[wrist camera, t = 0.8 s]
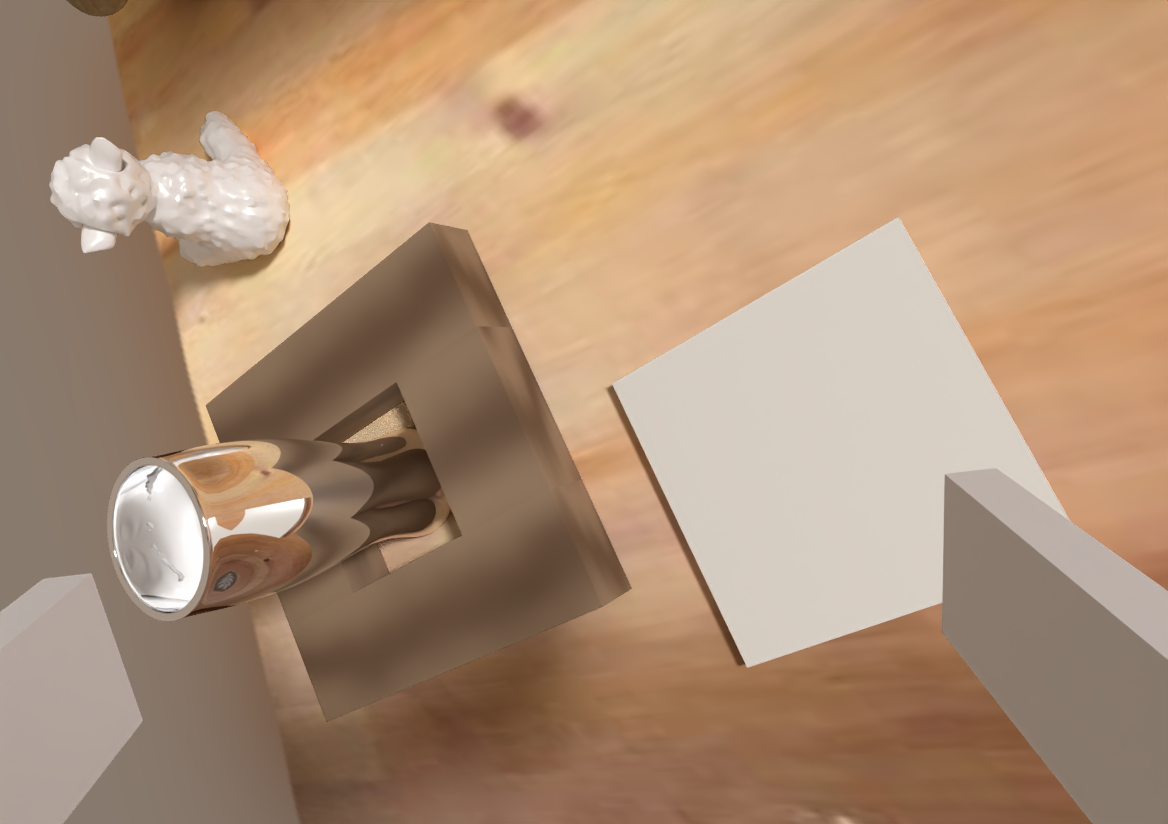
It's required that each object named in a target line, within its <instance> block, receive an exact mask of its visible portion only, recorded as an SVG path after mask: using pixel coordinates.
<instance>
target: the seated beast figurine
mask: <svg viewBox="0 0 1168 824" xmlns="http://www.w3.org/2000/svg"><path fill="white" fill-rule="evenodd" d="M205 120H206V123H205V124H204V125H201V129H200V135H201V136H200V137H199V142H200V143H201V145H202V147H203V148H204V149H205V153H206V155H208V156H210V157H211V159H212V161H206V160H204V159H202V158H198V157H197V156H196V155H194V154H190V155H184V154H177V153H174V152H170V151H167V152H162V153H161V154H160V155H155V154H152V155H150V156H149V157H148V158H147V159H145V160H140V161H138V160H137V159H136V158H135V157H134V156H132V155H131V154H130V153H128V152H127V151H125V150H123V149H119V148H118V147H116V146H115V145H114V144H113V143H111V142H110V141H108V140H106V139H105V138H100V137H96V138H95V139H94V140H93V141H92V143H91V145H88V144H84V145H82V146H81V147H77V148H75V149H73V150H71V151H70V153H69V156H68V157H64V158H63V160H57V162H56V163H55V165H54V168H53V171H52V172H51V181H50V182H49V187H50V189H51V191H52V195H51V197H50V201H51V203H52V204H54V205H55V206H56V207H57V208H58V210H59V212H60V214H61V215H62V216H63V217H64V218H66V219H67V220H69V221H70V223H71V224H72V225H73V226H74V227H75V228H77V229H82V233H81V246H82V251H83V252H84V253H89V252H95V251H100V250H108V249H112V248H113V247H114V246H115V244H116V238H117V234H122V235H125V236H129V235H130V233H131V232H132V231H133V230H134V228H135V227H136V225H137V224H138V223H140V222H146V223H147V224H149V226H150V227H151V229H154V230H158V231H161V232H162V233H164V234H165V235H166V236H167V237H173V238H175V239H179V241H178V245H179V248H180V251H179V253H180V255H181V256H182V257H183V258H184V259H185V260H187V261H189V262H192V263H196V264H197V266H198V267H204V266H206V265H210V266H217V265H221V264H223V263H226V264H228V263H229V262H237V261H240V260H242V259H243V260H247V259H249V260H254V259H255V258H256V257H258V256H260V255H268V254H271V253H272V252H273V251H274V249H275V248H276V247H277V246H278V244H279V243H280V242H281V241H282V240H283V238H284V235H285V231H286V228H287V224H288V222H289V220H290V215H289V208H290V205H289V203H288V195H287V189H286V188H285V187H284V186H283V185H282V184H281V180H280V179H278V178H277V177H276V176H275V175H274V171H273V169H272V168H270V167H269V166H268V163H267V162H265V161H263V160H262V158H261V157H260V156H259V154H258V152H257V150H256V148H255V145H254V144H253V143H251V142H250V141H249V140H248V137H247V136H245V135H244V134H243V133H242V132H241V131H240V130H239V128H238V127H237V126H236V124H235V123H234V122H233V121H232V120H231V119H230V118H228V117H227V116H226V115H225V114H223V113H221V112H218V111H212V112H209V113H208V114H207V115H206V117H205Z"/></svg>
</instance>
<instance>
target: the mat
mask: <svg viewBox="0 0 1168 824" xmlns="http://www.w3.org/2000/svg"><path fill="white" fill-rule="evenodd" d="M612 385H613V387H614V389H615V391H616V393H617V395H618V398H619V400H620V402H621V404H622V406H623V408H624V410H625V412H626V414H627V416H628V419H629V421H630V423H631V425H632V427H633V429H634V431H635V433H636V435H637V437H638V439H639V442H640V444H641V446H642V448H643V450H644V452H645V454H646V456H647V458H648V460H649V463H650V465H651V467H652V469H653V471H654V473H655V475H656V477H657V479H658V481H659V484H660V486H661V488H662V490H663V492H664V494H665V496H666V498H667V500H668V502H669V505H670V507H671V509H672V511H673V513H674V515H675V517H676V519H677V521H678V523H679V526H680V528H681V530H682V532H683V534H684V536H685V538H686V540H687V542H688V544H689V547H690V549H691V551H692V553H693V555H694V557H695V559H696V561H697V563H698V565H699V568H700V570H701V572H702V574H703V576H704V578H705V580H706V582H707V584H708V586H709V589H710V591H711V593H712V595H713V597H714V599H715V601H716V603H717V605H718V607H719V610H720V612H721V614H722V616H723V618H724V620H725V622H726V624H727V626H728V628H729V631H730V633H731V635H732V637H733V639H734V641H735V643H736V645H737V647H738V649H739V652H740V654H741V656H742V658H743V660H744V662H745V664H746V666H747V668H748V667H751V666H754V665H757V664H760V663H763V662H766V661H769V660H772V659H775V658H778V657H781V656H784V655H787V654H790V653H793V652H796V651H799V650H802V649H805V648H808V647H811V646H814V645H817V644H820V643H823V642H826V641H829V640H831V639H834V638H837V637H840V636H843V635H846V634H849V633H852V632H855V631H858V630H861V629H864V628H867V627H870V626H873V625H876V624H879V623H882V622H885V621H888V620H891V619H894V618H897V617H900V616H903V615H906V614H909V613H912V612H915V611H918V610H921V609H924V608H927V607H930V606H933V605H936V604H939V603H942V595H943V539H944V482H945V474H949V473H957V472H966V471H975V470H983V469H992V468H997V469H998V470H999V471H1001V472H1002V473H1004V474H1005V475H1006V476H1008V477H1009V478H1011V479H1012V480H1013V481H1015V482H1016V483H1018V484H1019V485H1020V486H1022V487H1023V488H1025V489H1026V490H1027V491H1029V492H1030V493H1032V494H1033V495H1034V496H1036V497H1037V498H1038V499H1040V500H1041V501H1043V502H1044V503H1045V504H1047V505H1048V506H1050V507H1051V508H1052V509H1054V510H1055V511H1057V512H1058V513H1059V514H1061V515H1062V516H1064V517H1065V518H1066V519H1068V520H1069V518H1068V516H1067V514H1066V512H1065V511H1064V509H1063V507H1062V505H1061V504H1060V502H1059V500H1058V498H1057V496H1056V495H1055V493H1054V491H1053V489H1052V488H1051V486H1050V484H1049V482H1048V480H1047V479H1046V477H1045V475H1044V473H1043V472H1042V470H1041V468H1040V466H1039V464H1038V463H1037V461H1036V459H1035V457H1034V456H1033V454H1032V452H1031V450H1030V449H1029V447H1028V445H1027V443H1026V441H1025V440H1024V438H1023V436H1022V434H1021V433H1020V431H1019V429H1018V427H1017V425H1016V424H1015V422H1014V420H1013V418H1012V417H1011V415H1010V413H1009V411H1008V409H1007V408H1006V406H1005V404H1004V402H1003V401H1002V399H1001V397H1000V395H999V393H998V392H997V390H996V388H995V386H994V385H993V383H992V381H991V379H990V377H989V376H988V374H987V372H986V370H985V369H984V367H983V365H982V363H981V361H980V360H979V358H978V356H977V354H976V353H975V351H974V349H973V347H972V345H971V344H970V342H969V340H968V338H967V337H966V335H965V333H964V331H963V330H962V328H961V326H960V324H959V322H958V321H957V319H956V317H955V315H954V314H953V312H952V310H951V308H950V306H949V305H948V303H947V301H946V299H945V298H944V296H943V294H942V292H941V290H940V289H939V287H938V285H937V283H936V282H935V280H934V278H933V276H932V274H931V273H930V271H929V269H928V267H927V266H926V264H925V262H924V260H923V258H922V257H921V255H920V253H919V251H918V250H917V248H916V246H915V244H914V242H913V241H912V239H911V237H910V235H909V234H908V232H907V230H906V228H905V227H904V225H903V223H902V221H901V219H900V218H899V217H897V218H895V219H894V220H892V221H890V222H889V223H887V224H885V225H883V226H882V227H880V228H878V229H877V230H875V231H873V232H871V233H870V234H868V235H866V236H865V237H863V238H861V239H859V240H858V241H856V242H854V243H853V244H851V245H849V246H847V247H846V248H844V249H842V250H841V251H839V252H837V253H835V254H834V255H832V256H830V257H829V258H827V259H825V260H823V261H822V262H820V263H818V264H817V265H815V266H813V267H811V268H810V269H808V270H806V271H805V272H803V273H801V274H799V275H798V276H796V277H794V278H793V279H791V280H789V281H787V282H786V283H784V284H782V285H781V286H779V287H777V288H775V289H774V290H772V291H770V292H769V293H767V294H765V295H763V296H762V297H760V298H758V299H757V300H755V301H753V302H751V303H750V304H748V305H746V306H745V307H743V308H741V309H739V310H738V311H736V312H734V313H733V314H731V315H729V316H727V317H726V318H724V319H722V320H721V321H719V322H717V323H715V324H714V325H712V326H710V327H709V328H707V329H705V330H703V331H702V332H700V333H698V334H697V335H695V336H693V337H691V338H690V339H688V340H686V341H685V342H683V343H681V344H679V345H678V346H676V347H674V348H673V349H671V350H669V351H667V352H666V353H664V354H662V355H661V356H659V357H657V358H655V359H654V360H652V361H650V362H649V363H647V364H645V365H643V366H642V367H640V368H638V369H637V370H635V371H633V372H631V373H630V374H628V375H626V376H625V377H623V378H621V379H619V380H618V381H616V382H614V383H613V384H612ZM1069 521H1070V520H1069Z"/></svg>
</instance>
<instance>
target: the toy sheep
mask: <svg viewBox="0 0 1168 824" xmlns="http://www.w3.org/2000/svg"><path fill="white" fill-rule="evenodd" d="M67 1H68V2H69V3H70V4H72V5H73V6H74V7H76V8H77V9H79V10H80V11H82V12H84V13H86V14H89V15H92V16H108V15H112V14H114V13H116V12H117V11H119V10H120V9H122V8H123V6H124V5H125V4H126V2H127V0H67Z"/></svg>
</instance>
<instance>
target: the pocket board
mask: <svg viewBox="0 0 1168 824" xmlns="http://www.w3.org/2000/svg"><path fill="white" fill-rule="evenodd" d="M403 401H405V403H406V405H407V408H408V410H409V412H410V415H411V417H412V419H413V422H414V424H415V426H416V429H417V431H418V433H419V436H420V438H421V440H422V443H423V445H424V447H425V450H426V452H427V454H428V457H429V459H430V461H431V464H432V466H433V468H434V471H435V473H436V475H437V478H438V480H439V482H440V485H441V487H442V489H443V492H444V494H445V496H446V499H447V501H448V504H449V506H450V508H451V511H452V513H453V515H454V518H455V520H456V522H457V525H458V527H459V529H460V532H461V534H462V536H460V537H458V538H456V539H454V540H453V541H451V542H449V543H447V544H445V545H443V546H441V547H439V548H437V549H436V550H434V551H432V552H430V553H428V554H426V555H424V556H422V557H420V558H419V559H417V560H415V561H413V562H411V563H409V564H407V565H405V566H403V567H402V568H400V569H398V570H396V571H394V572H392V573H389V571H388V568H387V566H386V563H385V561H384V559H383V556H382V554H381V551H380V549H379V546H378V544H377V543H375V544H372V545H370V546H368V547H366V548H364V549H362V550H361V551H359V552H357V553H355V554H353V555H352V556H350V557H348V558H347V559H345V560H343V561H341V562H340V563H338V564H336V565H334V566H333V567H331V568H329V569H327V570H325V571H324V572H322V573H320V574H318V575H316V576H314V577H312V578H310V579H308V580H306V581H304V582H302V583H300V584H298V585H296V586H294V587H291V588H288V589H286V590H283V591H280V592H278V596H279V599H280V601H281V604H282V607H283V609H284V612H285V614H286V617H287V620H288V622H289V625H290V627H291V630H292V633H293V635H294V638H295V641H296V643H297V646H298V648H299V651H300V654H301V656H302V659H303V661H304V664H305V667H306V669H307V672H308V675H309V677H310V680H311V682H312V685H313V688H314V690H315V693H316V695H317V698H318V701H319V703H320V706H321V709H322V711H323V714H324V716H325V719H326V722H328V721H330V720H332V719H335V718H337V717H340V716H342V715H344V714H347V713H349V712H352V711H354V710H356V709H359V708H361V707H364V706H366V705H368V704H371V703H373V702H376V701H378V700H380V699H383V698H385V697H388V696H390V695H392V694H395V693H397V692H400V691H402V690H404V689H407V688H409V687H411V686H414V685H416V684H419V683H421V682H423V681H426V680H428V679H431V678H433V677H435V676H438V675H440V674H443V673H445V672H447V671H450V670H452V669H455V668H457V667H459V666H462V665H464V664H467V663H469V662H471V661H474V660H476V659H479V658H481V657H483V656H486V655H488V654H491V653H493V652H495V651H498V650H500V649H502V648H505V647H507V646H510V645H512V644H514V643H517V642H519V641H522V640H524V639H526V638H529V637H531V636H534V635H536V634H538V633H541V632H543V631H546V630H548V629H550V628H553V627H555V626H558V625H560V624H562V623H565V622H567V621H570V620H572V619H574V618H577V617H579V616H582V615H584V614H586V613H589V612H591V611H593V610H596V609H598V608H601V607H603V606H605V605H606V604H608V603H609V602H611V601H613V600H614V599H616V598H617V597H619V596H621V595H622V594H624V593H625V592H627V591H629V590H630V589H632V588H631V586H630V584H629V581H628V579H627V577H626V575H625V573H624V571H623V568H622V566H621V564H620V562H619V560H618V558H617V555H616V553H615V551H614V549H613V547H612V545H611V542H610V540H609V538H608V536H607V534H606V531H605V529H604V527H603V525H602V523H601V521H600V518H599V516H598V514H597V512H596V510H595V508H594V505H593V503H592V501H591V499H590V497H589V494H588V492H587V490H586V488H585V486H584V484H583V481H582V479H581V477H580V475H579V473H578V471H577V468H576V466H575V464H574V462H573V460H572V457H571V455H570V453H569V451H568V449H567V447H566V444H565V442H564V440H563V438H562V436H561V434H560V431H559V429H558V427H557V425H556V423H555V420H554V418H553V416H552V414H551V412H550V410H549V407H548V405H547V403H546V401H545V399H544V397H543V394H542V392H541V390H540V388H539V386H538V383H537V381H536V379H535V377H534V375H533V373H532V370H531V368H530V366H529V364H528V362H527V360H526V357H525V355H524V353H523V351H522V349H521V346H520V344H519V342H518V340H517V338H516V336H515V333H514V331H513V329H512V327H511V325H510V323H509V320H508V318H507V316H506V314H505V312H504V309H503V307H502V305H501V303H500V301H499V299H498V296H497V294H496V292H495V290H494V288H493V286H492V283H491V281H490V279H489V277H488V275H487V272H486V270H485V268H484V266H483V264H482V262H481V259H480V257H479V255H478V253H477V251H476V249H475V246H474V244H473V242H472V240H471V238H470V235H469V233H468V231H467V230H463V229H458V228H454V227H449V226H444V225H439V224H435V223H430V222H429V223H428V224H427V225H425V226H424V227H423V228H422V229H420V230H419V231H418V232H417V233H416V234H414V235H413V236H412V237H411V238H409V239H408V240H407V241H406V242H405V243H403V244H402V245H401V246H400V247H398V248H397V249H396V250H395V251H394V252H392V253H391V254H390V255H389V256H387V257H386V258H385V259H384V260H383V261H381V262H380V263H379V264H378V265H376V266H375V267H374V268H373V269H372V270H370V271H369V272H368V273H367V274H365V275H364V276H363V277H362V278H361V279H359V280H358V281H357V282H356V283H355V284H353V285H352V286H351V287H350V288H348V289H347V290H346V291H345V292H344V293H342V294H341V295H340V296H339V297H337V298H336V299H335V300H334V301H333V302H331V303H330V304H329V305H328V306H326V307H325V308H324V309H323V310H322V311H320V312H319V313H318V314H317V315H315V316H314V317H313V318H312V319H311V320H309V321H308V322H307V323H306V324H304V325H303V326H302V327H301V328H300V329H298V330H297V331H296V332H295V333H293V334H292V335H291V336H290V337H289V338H287V339H286V340H285V341H284V342H282V343H281V344H280V345H279V346H278V347H276V348H275V349H274V350H273V351H271V352H270V353H269V354H268V355H267V356H265V357H264V358H263V359H262V360H260V361H259V362H258V363H257V364H256V365H254V366H253V367H252V368H251V369H249V370H248V371H247V372H246V373H245V374H243V375H242V376H241V377H240V378H238V379H237V380H236V381H235V382H234V383H232V384H231V385H230V386H229V387H227V388H226V389H225V390H224V391H223V392H221V393H220V394H219V395H218V396H216V397H215V398H214V399H213V400H212V401H210V402H209V403H208V404H207V405H206V408H207V410H208V413H209V415H210V418H211V421H212V423H213V426H214V429H215V431H216V434H217V436H218V439H219V442H220V443H223V442H230V441H237V440H249V439H261V438H277V439H301V440H314V441H326V442H338V443H342V442H343V441H345V440H346V439H348V438H349V437H351V436H352V435H354V434H355V433H357V432H358V431H360V430H361V429H363V428H364V427H366V426H367V425H369V424H370V423H372V422H373V421H374V420H376V419H377V418H379V417H380V416H382V415H383V414H385V413H386V412H388V411H389V410H391V409H392V408H394V407H395V406H397V405H398V404H400V403H401V402H403Z"/></svg>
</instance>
